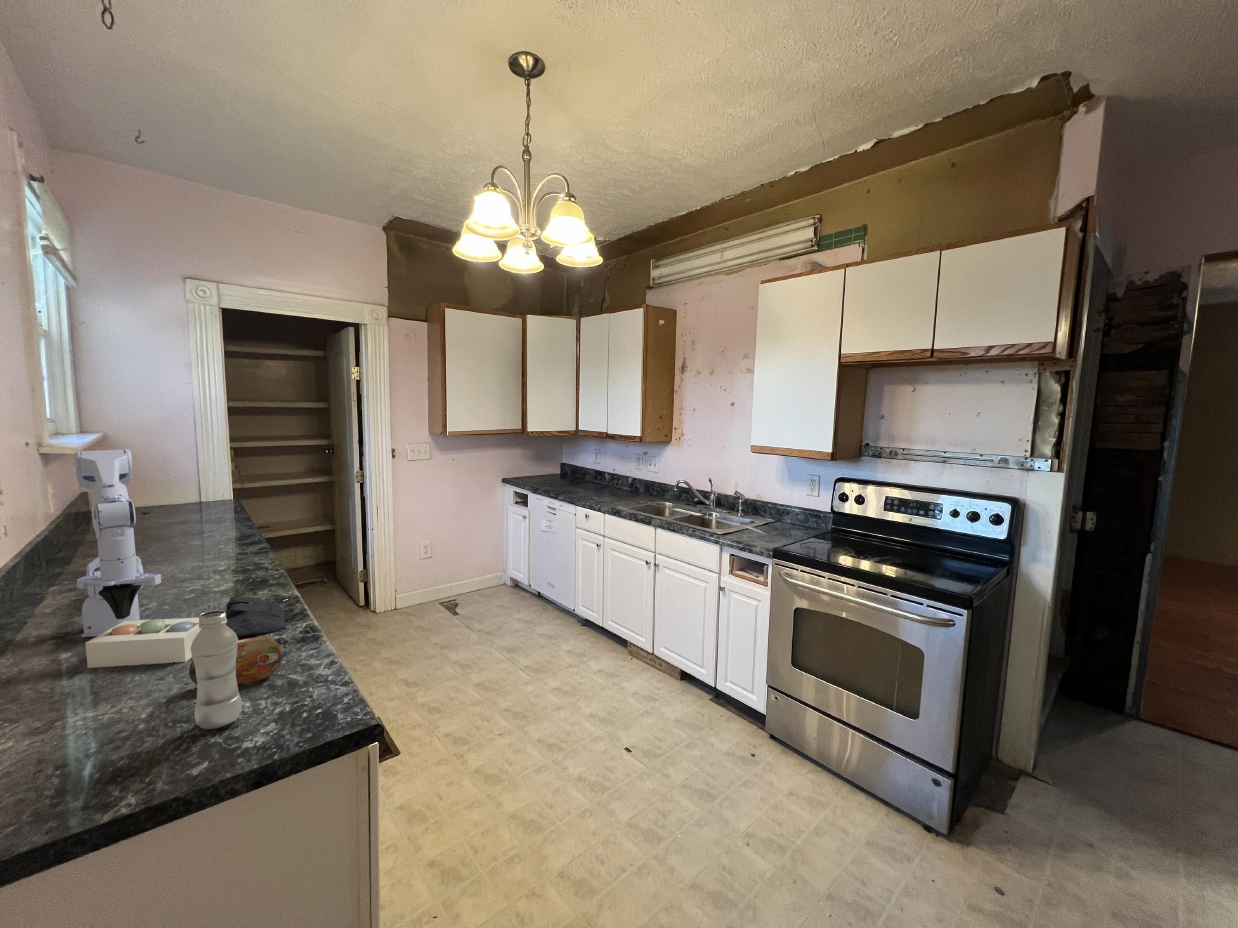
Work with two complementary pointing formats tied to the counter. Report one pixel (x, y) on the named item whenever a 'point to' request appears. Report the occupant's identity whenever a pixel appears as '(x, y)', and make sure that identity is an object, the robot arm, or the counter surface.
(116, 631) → the terracotta button
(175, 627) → the slate blue button
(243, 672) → the tin
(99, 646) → the button console
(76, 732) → the counter surface
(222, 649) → the plastic bottle
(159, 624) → the sage green button
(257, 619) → the black fabric pouch
